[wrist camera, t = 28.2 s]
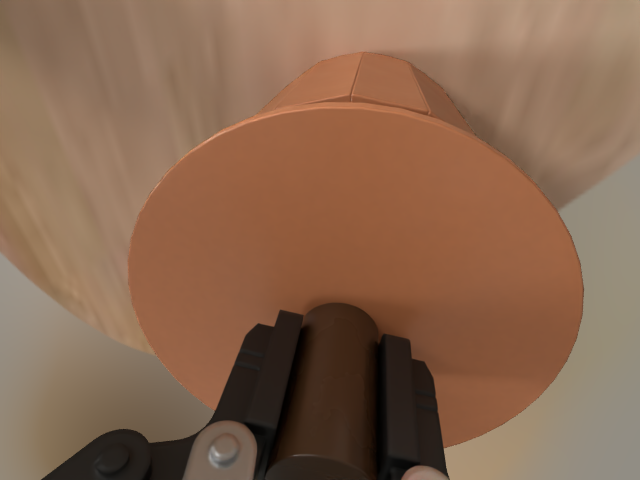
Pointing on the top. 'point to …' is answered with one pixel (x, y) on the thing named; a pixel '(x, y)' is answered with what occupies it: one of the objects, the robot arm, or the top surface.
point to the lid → (357, 273)
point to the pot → (370, 87)
